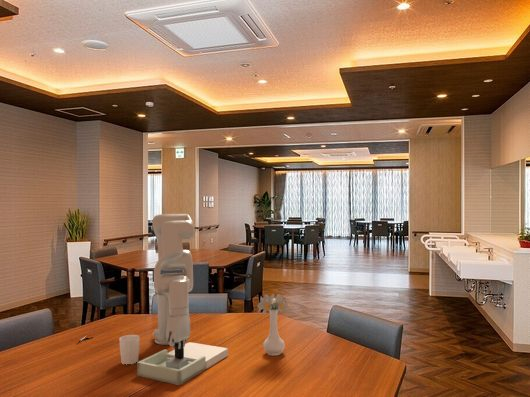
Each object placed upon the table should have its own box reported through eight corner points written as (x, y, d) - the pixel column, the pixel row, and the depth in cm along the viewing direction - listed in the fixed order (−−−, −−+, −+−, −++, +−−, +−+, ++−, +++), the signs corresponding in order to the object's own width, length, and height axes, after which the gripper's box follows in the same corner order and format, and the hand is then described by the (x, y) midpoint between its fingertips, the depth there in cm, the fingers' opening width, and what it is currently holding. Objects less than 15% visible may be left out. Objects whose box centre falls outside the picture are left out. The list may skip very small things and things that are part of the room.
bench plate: (165, 361, 175) (165, 353, 175) (189, 348, 189) (189, 342, 189) (206, 368, 166) (206, 361, 166) (227, 355, 180) (227, 348, 180)
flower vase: (288, 345, 191) (287, 290, 192) (288, 360, 173) (287, 299, 173) (259, 345, 192) (259, 290, 193) (256, 360, 174) (255, 299, 174)
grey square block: (165, 369, 163) (165, 361, 163) (175, 364, 168) (175, 356, 168) (178, 372, 160) (178, 364, 160) (187, 366, 166) (187, 358, 166)
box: (137, 375, 160) (137, 362, 160) (165, 361, 174) (165, 349, 174) (179, 385, 151) (179, 371, 151) (205, 369, 165) (205, 356, 165)
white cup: (143, 359, 177) (143, 335, 177) (131, 366, 169) (131, 341, 169) (127, 357, 179) (127, 333, 179) (115, 364, 172) (115, 339, 172)
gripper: (182, 305, 175) (183, 350, 175) (158, 314, 162) (159, 362, 162) (197, 307, 172) (198, 353, 172) (174, 316, 159) (174, 366, 158)
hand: (179, 357), depth 167 cm, fingers closed
